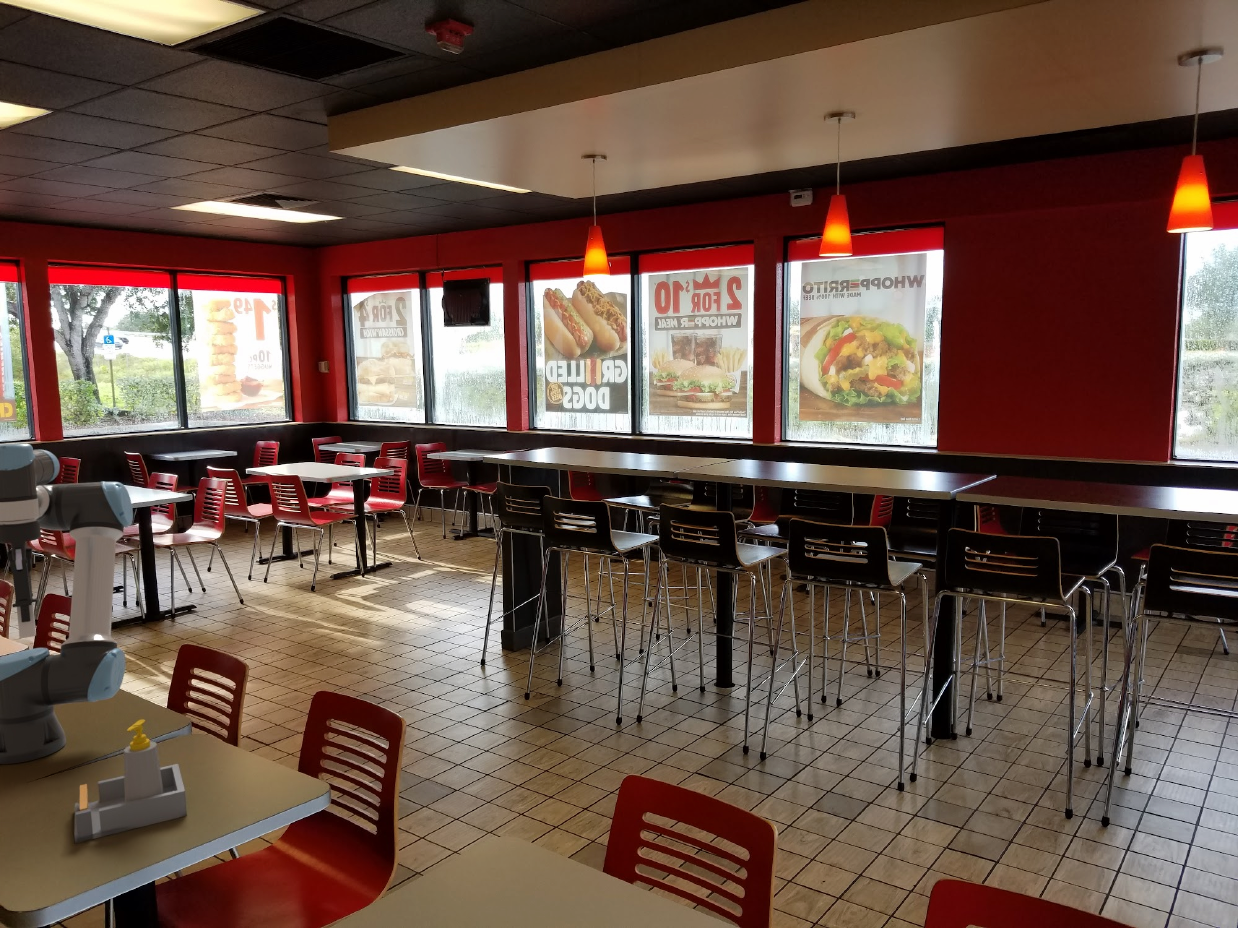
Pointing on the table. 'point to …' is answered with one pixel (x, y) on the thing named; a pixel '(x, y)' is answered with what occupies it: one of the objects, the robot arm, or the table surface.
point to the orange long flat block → (84, 797)
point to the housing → (130, 807)
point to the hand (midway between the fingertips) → (27, 636)
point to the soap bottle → (141, 766)
